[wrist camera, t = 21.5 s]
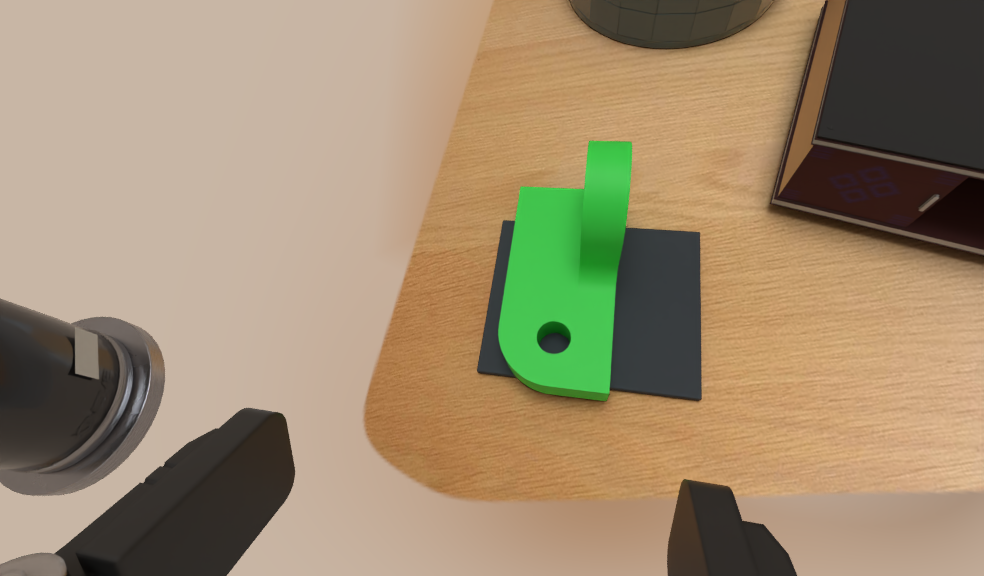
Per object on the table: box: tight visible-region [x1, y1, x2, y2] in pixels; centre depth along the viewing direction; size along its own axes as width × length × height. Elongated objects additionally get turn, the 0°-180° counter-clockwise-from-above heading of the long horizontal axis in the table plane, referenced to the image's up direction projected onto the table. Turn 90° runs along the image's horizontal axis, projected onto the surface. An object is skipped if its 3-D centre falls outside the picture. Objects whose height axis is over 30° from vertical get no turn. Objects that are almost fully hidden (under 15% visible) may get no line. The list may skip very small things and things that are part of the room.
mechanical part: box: [498, 141, 632, 401], centre depth 24 cm, size 12×6×8 cm, turn 171°
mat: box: [477, 220, 701, 401], centre depth 28 cm, size 12×10×1 cm
